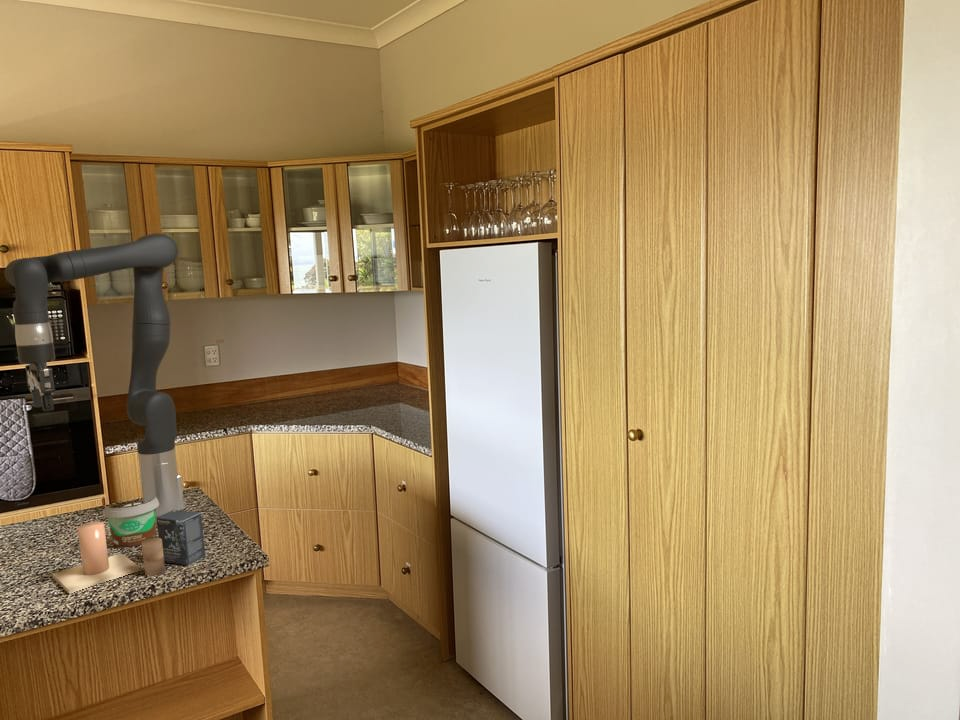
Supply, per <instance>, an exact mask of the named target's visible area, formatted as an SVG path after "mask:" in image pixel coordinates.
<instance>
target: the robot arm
mask: <svg viewBox="0 0 960 720" xmlns="http://www.w3.org/2000/svg"><path fill="white" fill-rule="evenodd" d="M178 257H179V248H178V245H177V243H176V241H175V240H174V239H173V238H172V237H171V236H169V235H167V234H164V233H160V232H159V233H158V232H156V233H149V234H147V235H143V236H140V237H139V238H137V239H136V240H135V241H131V242H130V241H129V242H125V243H121V244H115V245H109V246H108V245H107V246H99V247H91V248H89V247H88V248H81V249H75V250H69V251H62V252H61V251H60V252H57V253H54V254H49V255H43V256H33V257H24V258H23V257H22V258H18V259H14V260H11V261H10V262H9V263H8V264H7V265H6V267H5V269H4V278H5V279H6V281H7V282H8V283H9V284H10V285H11V286H13V287H14V289H15V300H14V301H13V304H12V306H13V307H12V313H13V319H14V324H15V325H14V327H15V328H14V335H15V342H16V343H15V344H16V350H17V359H18V363H20V364H21V365H23V364H24V365H25V372H26V373H25V374H26V380H27V389H28V390H29V391H30V393H31V396H32V404H33V407H34V408H42V411H44V412H49V411H54V410H55V404H54V398H53V397H54V396H53V395H54V393H55V392H56V388H55V381H54V374H53V368H52V367H48V365H47V363H48V362H53V361H55V360H56V351H55V345H54V336H53V331H52V330H53V329H52V327H51V323H50V316H49V310H48V309H49V308H48V294H49V293H48V290H49V289H48V288H49V284H51V283H55V282H68V281H69V282H70V281H75V280H81V279H86V278H90V277H95V276H100V275H103V274H108V273H112V272H117V271H121V270H127V269H133V279H134V281H133V282H134V283H133V284H134V290H133V291H134V293H133V310H132V311H133V314H132V328H131V329H132V331H131V335H132V336H131V342H132V343H131V344H132V345H131V364H130V365H131V367H130V379H129V385H128V393H127V399H126V400H127V401H126V413H127V416H128V418H129V420H130V421H131V422H132V423H134V424H136V425H140V426H144V437H143V438H142V439H140V440H138V442H137V444H136V449H137V459H138V466H139V467H138V468H139V475H140V483H141V492H142V502H145V501H150V500H154V499H155V497H156V498H157V499H158V502H159V506H158V507H157V508H156V518H157V517H159V516H161V515H163V514H165V513H168V512H170V511H172V510H174V509H175V510H180V511H183V510H185V502H184V492H183V482H182V481H183V480H182V476H181V475H180V474H178V472H179V470H178V462H177V453H176V439H177V435H178V433H177V432H178V431H177V430H178V428H177V413H176V412H177V411H176V406H175V403H174V399H173V398H172V397H171V395H169V394H168V393H167V392H162V391H157V388H156V387H157V374H158V370H159V367H160V365H161V364H162V361H163V359H164V357H165V354H167V351H168V349H169V345H170V339H171V316H170V312H169V308H168V305H167V302H166V298H165V295H164V288H163V282H164V281H163V280H164V278H163V277H164V268H168V267H169V266H172V264H173V263H174V262H175V261H176V260H177V258H178Z"/></svg>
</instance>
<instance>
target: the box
mask: <svg viewBox="0 0 960 720" xmlns="http://www.w3.org/2000/svg"><path fill="white" fill-rule="evenodd" d="M202 520H203V517H202V512H198V511H188V510H175V509H174V510H172V511H170V512H168V513H165V514H163V515H161V516H159V517H156V528H157V533H158V534H157V535H158V538H161V539H162V546H163V554H164V563H170V564H175V565H177V564H178V565H181V566H182V565H184V566H187V567H189V566H191V565H192V564H194V563H196V562H198V561H200V560H202V559H203V558H205V557H206V549H205V540H204V539H205V538H204V529H203V528H204V526H203V521H202Z"/></svg>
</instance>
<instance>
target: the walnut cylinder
mask: <svg viewBox="0 0 960 720" xmlns="http://www.w3.org/2000/svg"><path fill="white" fill-rule="evenodd" d="M141 544H142V545H141V551H142V559H143V560H142V561H143V566H144V575H145V576H146V575H149V576H148V577H156V576H159V575H162V574H164V573H165V572H166V565H165V563H166V562H164V554H163V546H162V539H161V538H159V537H156V538H151V539H147V540H145V541H143V542H142V543H141ZM155 575H156V576H155Z"/></svg>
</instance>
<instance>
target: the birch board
mask: <svg viewBox="0 0 960 720" xmlns="http://www.w3.org/2000/svg"><path fill="white" fill-rule="evenodd" d="M108 560H109V569H108V570H106V571H104V572H102V573H99V574H94V575H85V574H84V573H83V566H82V564H80V565H77V566H73V567H70V568H67V569H64V570H61V571H56V572H54V573H52V579H53V580H54V581H55V582H56V583H57V584H58V585H59V586H60V587H61V588H62V587H63V588H62V589H63V590H64V591H65V592H66V591H67V592H66V593H67V594H68V593H69V594H68V595H72V594H75V593H77V592H76V591H78V592H80V591H79V590H81V591H83V590H82V589H84V590H86V589H85V588H87V589H89V588H88V587H90V586H93V585H96V584H99V583H103V582H106V581H109V580H112V579H116V578H119V577H122V578H124V577H123V576H125V575H128V574H131V573H134V572H137V573H139V572H138V571H140V572H141V567H140V565H138V564H137V563H135V562H134V561H132V560H131V559H130V558H128V557H127V556H126V555H124V554H123V553H121V552H119V553H116V554H114V555H110V556H108ZM134 574H135V573H134ZM131 575H132V574H131ZM128 576H129V575H128ZM125 577H126V576H125ZM119 579H120V578H119ZM116 580H117V579H116ZM112 581H113V580H112ZM109 582H110V581H109ZM106 583H107V582H106ZM103 584H104V583H103ZM74 592H75V593H74ZM71 593H72V594H71Z"/></svg>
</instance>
